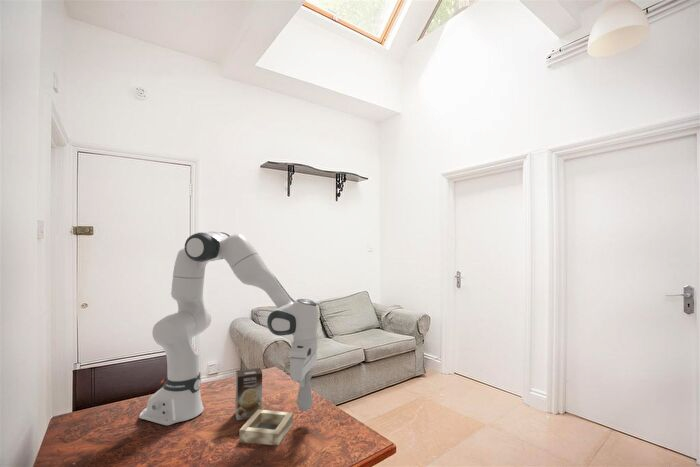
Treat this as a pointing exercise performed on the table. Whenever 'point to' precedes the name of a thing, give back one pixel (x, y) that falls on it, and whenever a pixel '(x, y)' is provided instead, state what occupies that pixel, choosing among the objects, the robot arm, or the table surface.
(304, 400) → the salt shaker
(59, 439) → the table surface
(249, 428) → the socket block
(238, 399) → the coffee box
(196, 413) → the robot arm
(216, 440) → the table surface
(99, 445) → the table surface
